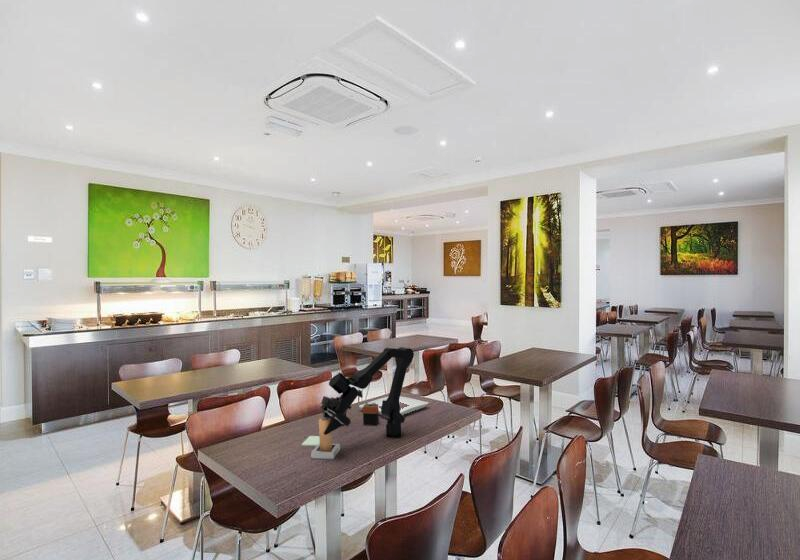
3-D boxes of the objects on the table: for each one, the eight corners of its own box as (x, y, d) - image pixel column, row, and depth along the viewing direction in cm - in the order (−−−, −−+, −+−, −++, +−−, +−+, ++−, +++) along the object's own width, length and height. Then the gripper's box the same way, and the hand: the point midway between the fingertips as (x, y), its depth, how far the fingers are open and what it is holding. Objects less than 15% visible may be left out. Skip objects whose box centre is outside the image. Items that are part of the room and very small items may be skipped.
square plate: (429, 408, 229) (429, 401, 229) (394, 422, 210) (393, 414, 209) (393, 400, 248) (393, 393, 248) (357, 412, 228) (357, 404, 228)
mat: (331, 437, 191) (331, 436, 191) (323, 446, 181) (323, 445, 181) (309, 437, 193) (309, 435, 193) (301, 445, 183) (301, 444, 183)
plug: (333, 451, 175) (332, 416, 175) (329, 456, 170) (328, 420, 170) (322, 451, 176) (321, 416, 176) (318, 456, 171) (317, 419, 171)
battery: (376, 425, 205) (376, 404, 205) (363, 425, 206) (362, 404, 206) (379, 422, 209) (378, 402, 209) (365, 422, 211) (365, 401, 211)
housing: (340, 449, 177) (339, 443, 177) (333, 458, 168) (333, 452, 168) (319, 449, 178) (319, 443, 178) (311, 458, 169) (311, 452, 169)
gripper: (324, 384, 183) (300, 415, 177) (342, 393, 167) (316, 427, 162) (341, 399, 187) (318, 430, 182) (361, 409, 172) (336, 443, 166)
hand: (322, 432), depth 172 cm, fingers open, 5 cm apart
